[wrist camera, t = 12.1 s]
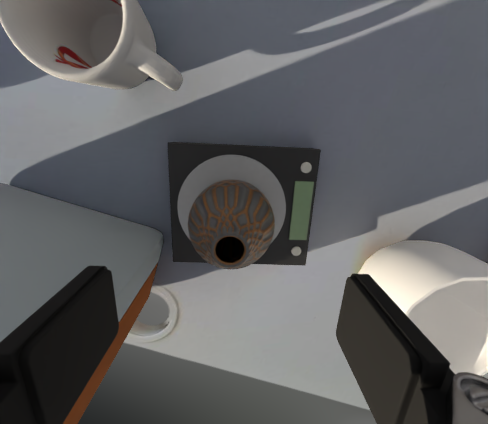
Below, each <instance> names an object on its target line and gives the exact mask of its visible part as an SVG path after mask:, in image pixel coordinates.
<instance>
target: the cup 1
mask: <svg viewBox="0 0 488 424" xmlns="http://www.w3.org/2000/svg"><path fill="white" fill-rule="evenodd" d="M0 22H1V24H2V26H3V28H4V30H5V32H6V33H7V35H8V37H9V38H10V40H11V41H12V42H13V44H14V45H15V46H16V48H17V49H18V50H19V51H20V52H21V53H22V54H23V55H24V56H25V57H26V58H27V59H28V60H29V61H30V62H31V63H33V64H34V65H35V66H37V67H38V68H40V69H41V70H43V71H45V72H47V73H48V74H50V75H53V76H55V77H58V78H61V79H64V80H68V81H73V82H79V83H84V84H90V85H96V86H101V87H107V88H113V89H129V88H133V87H136V86H138V85H140V84H141V83H143V82H144V81H145V80H146V79H147V78H148V77H149V76H150V77H152V78H154V79H155V80H157V81H158V82H160V83H162V84H163V85H165V86H167V87H168V88H170V89H171V90H173V91H177V90H178V89H179V88H180V86H181V84H182V81H183V77H182V75H181V73H180V72H179V71H178V70H177V69H176V68H175V67H174V66H173V65H171V64H170V63H169V62H168V61H166V60H165V59H163V58H162V57H161V56H159V55H158V54H156V42H155V38H154V34H153V31H152V29H151V26H150V24H149V22H148V20H147V18H146V16H145V14H144V12H143V10H142V9H141V7H140V5H139V3H138V1H137V0H0Z"/></svg>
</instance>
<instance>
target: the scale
mask: <svg viewBox="0 0 488 424" xmlns="http://www.w3.org/2000/svg"><path fill="white" fill-rule="evenodd" d="M320 151H321V150H320V149H313V148H293V147H271V146H249V145H227V144H205V143H183V142H168V160H169V183H170V205H171V227H172V250H173V262H204V263H208V262H207V261H205V260H204V259H203V258H202V257H201V256H200V255H199V254H198V253H197V251H196V250H195V248H194V247H193V245H192V242H191V240H190V236H189V231H188V217H189V212H190V209H191V207H192V205H193V203H194V201H195V199H196V198H197V197H198V195H199V194H200V193H201V192H202V191H203V190H204V189H206V188H207V187H208V186H210V185H211V184H213V183H216V182H218V181H222V180H228V179H235V180H241V181H245V182H248V183H250V184H252V185H253V186H255V187H256V188H258V189H259V190H260V191H261V192H262V193H263V194H264V195H265V197H266V198H267V200H268V201H269V203H270V205H271V207H272V210H273V214H274V219H275V228H274V234H273V238H272V241H271V243H270V245H269V247H268V249H267V250H266V252H265V253H264V254H263V255H262V256H261V257H260V258H259V259H258V260H257V261H255V262H254V263H252V264H277V265H305V264H306V257H307V249H308V241H309V234H310V226H311V219H312V211H313V204H314V196H315V189H316V181H317V173H318V166H319V158H320Z"/></svg>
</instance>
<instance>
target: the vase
mask: <svg viewBox="0 0 488 424" xmlns="http://www.w3.org/2000/svg"><path fill="white" fill-rule="evenodd" d="M274 228H275V219H274V214H273V210H272V207H271V205H270V203H269V201H268V200H267V198H266V197H265V195H264V194H263V193H262V192H261V191H260V190H259V189H258V188H256V187H255V186H253V185H252V184H250V183H248V182H245V181H241V180H235V179H228V180H222V181H218V182H216V183H213V184H211V185H210V186H208V187H207V188H206V189H204V190H203V191H202V192H201V193H200V194H199V195H198V197H197V198H196V199H195V201H194V203H193V205H192V207H191V209H190V212H189V217H188V231H189V236H190V240H191V242H192V245H193V247H194V248H195V250H196V251H197V253H198V254H199V255H200V256H201V257H202V258H203V259H204V260H205V261H207V262H208V263H210V264H212V265H214V266H216V267H219V268H224V269H238V268H243V267H246V266H248V265H250V264H252V263H254V262H255V261H257V260H258V259H259V258H260V257H261V256H262V255H263V254H264V253H265V252H266V250H267V249H268V247H269V245H270V243H271V241H272V238H273V234H274Z"/></svg>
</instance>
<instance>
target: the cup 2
mask: <svg viewBox="0 0 488 424" xmlns="http://www.w3.org/2000/svg"><path fill="white" fill-rule="evenodd" d="M358 274H369V275H370V276H371V277H372V278H373V279H374V281H375V282H376V283H377V284H378V285H379V286H380V287H381V288H382V289H383V290H384V291H385V293H386V294H387V295H388V296H389V297H390V298H391V299H392V300H393V301H394V302H395V303H396V304H397V306H398V307H399V308H400V309H401V310H402V311H403V312H404V313H405V314H406V315H407V316H408V318H409V319H410V320H411V321H412V322H413V323H414V324H415V325H416V326H417V327H418V328H419V330H420V331H421V332H422V333H423V334H424V335H425V336H426V337H427V338H428V339H429V340H430V342H431V343H432V344H433V345H434V346H435V347H436V348H437V349H438V350H439V351H440V352H441V354H442V355H443V356H444V357H445V358H446V359H447V360H448V361H449V362H450V363H451V364H450V366H449V368H450V369H451V370H452V371H453V372H454V373H455V374H457V373H459V372H468V373H473V374H477V375H479V376H483V375H484V374H486V373H487V372H488V264H487V263H485V262H483V261H481V260H479V259H477V258H475V257H473V256H471V255H469V254H467V253H465V252H463V251H461V250H458V249H456V248H453V247H451V246H448V245H446V244H442V243H436V242H430V241H425V240H415V241H401V242H398V243H395V244H392V245H390V246H387V247H384V248H382V249H379V250H378V251H377V252H375V253H374V254H373V255H372V256H371V257H369V258H368V259H367V260H366V261H365V263H364V265H363V266H362V268H361V270H360V271H359V273H358Z"/></svg>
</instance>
